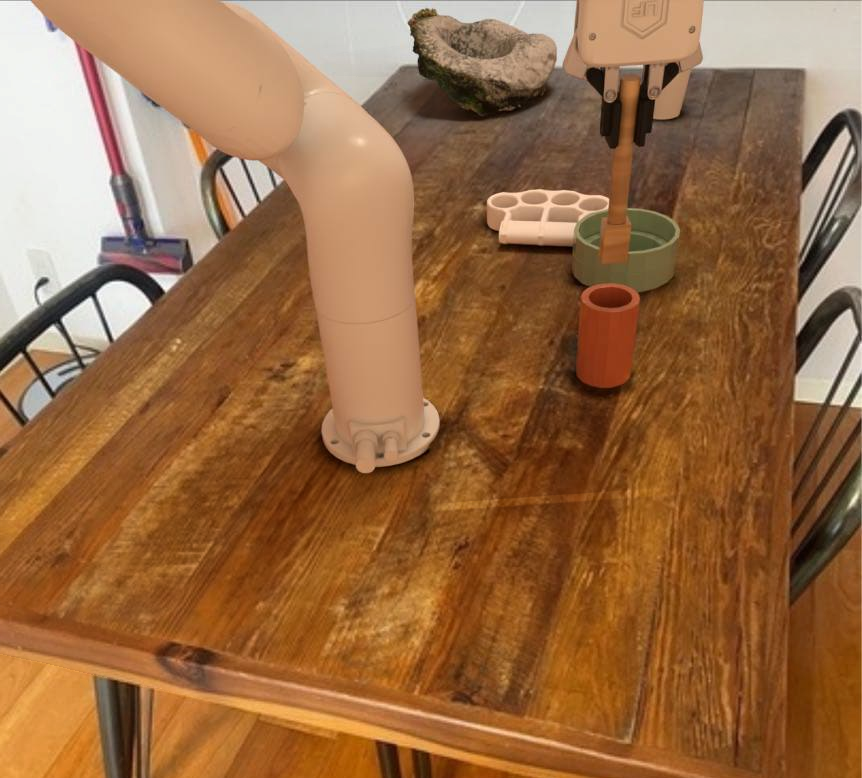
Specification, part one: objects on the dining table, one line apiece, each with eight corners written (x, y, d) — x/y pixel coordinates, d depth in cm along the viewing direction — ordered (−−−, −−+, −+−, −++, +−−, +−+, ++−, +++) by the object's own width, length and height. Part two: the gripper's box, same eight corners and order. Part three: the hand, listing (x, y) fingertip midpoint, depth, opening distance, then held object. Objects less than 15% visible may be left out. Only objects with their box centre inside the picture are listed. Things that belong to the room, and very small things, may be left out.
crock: (635, 391, 94) (645, 309, 87) (580, 395, 94) (586, 313, 87) (624, 361, 98) (633, 281, 91) (572, 365, 98) (577, 285, 91)
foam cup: (625, 111, 157) (632, 31, 148) (667, 101, 160) (676, 22, 151) (656, 126, 151) (665, 43, 142) (699, 115, 154) (711, 34, 145)
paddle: (627, 262, 87) (647, 80, 75) (601, 264, 87) (617, 82, 75) (623, 253, 88) (642, 73, 76) (598, 255, 88) (613, 75, 76)
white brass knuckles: (476, 249, 121) (493, 205, 131) (605, 254, 117) (613, 209, 128) (475, 226, 119) (493, 183, 129) (607, 231, 115) (615, 187, 125)
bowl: (684, 293, 109) (691, 248, 104) (580, 301, 109) (583, 257, 105) (660, 247, 118) (666, 204, 114) (565, 254, 118) (567, 211, 114)
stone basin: (386, 42, 173) (411, -40, 163) (516, 90, 184) (548, 16, 174) (402, 105, 154) (433, 18, 144) (546, 154, 165) (584, 76, 155)
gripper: (553, -87, 64) (544, 163, 77) (764, -103, 64) (720, 151, 77) (541, -103, 70) (534, 134, 82) (735, -117, 69) (699, 123, 82)
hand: (624, 141), depth 79 cm, fingers closed on paddle, 1 cm apart
